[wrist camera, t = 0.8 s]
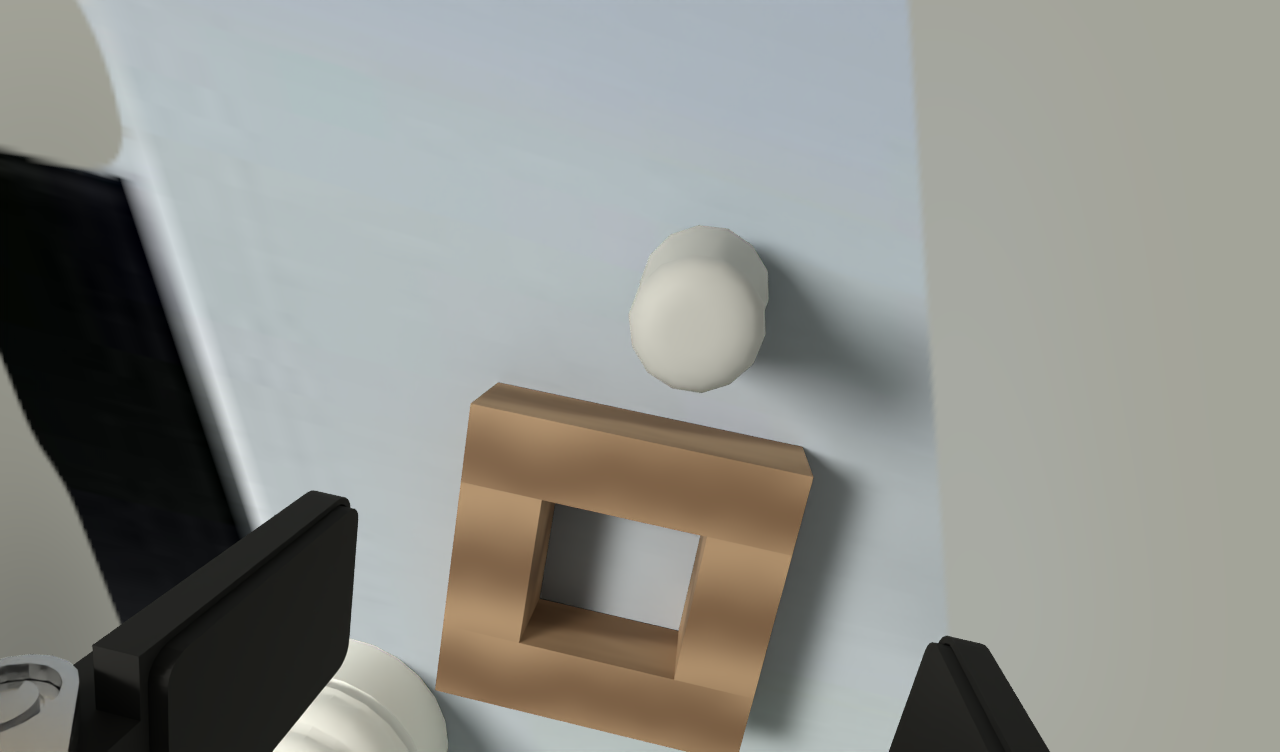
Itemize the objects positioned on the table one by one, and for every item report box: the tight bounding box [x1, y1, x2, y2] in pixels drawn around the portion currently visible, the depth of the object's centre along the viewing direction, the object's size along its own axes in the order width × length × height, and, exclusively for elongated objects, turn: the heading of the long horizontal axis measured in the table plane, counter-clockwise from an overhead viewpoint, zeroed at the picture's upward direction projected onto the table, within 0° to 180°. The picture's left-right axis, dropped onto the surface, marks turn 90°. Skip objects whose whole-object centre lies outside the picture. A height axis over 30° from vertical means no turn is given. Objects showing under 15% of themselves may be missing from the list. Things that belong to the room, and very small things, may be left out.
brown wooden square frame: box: [435, 383, 813, 752], centre depth 34 cm, size 16×16×4 cm
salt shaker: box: [629, 225, 769, 393], centre depth 26 cm, size 6×6×13 cm
